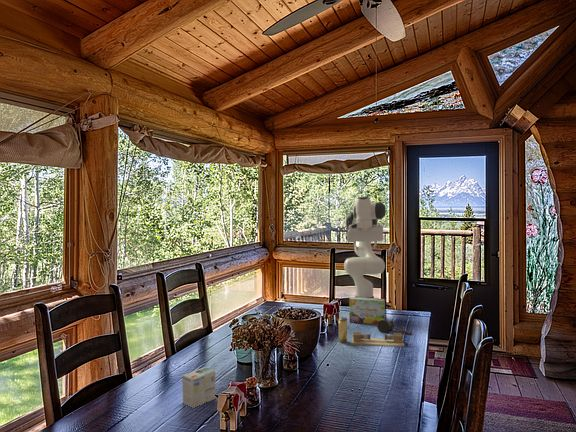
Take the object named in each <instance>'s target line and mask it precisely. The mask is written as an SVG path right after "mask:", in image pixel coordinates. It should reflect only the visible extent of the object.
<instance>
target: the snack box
mask: <svg viewBox="0 0 576 432" xmlns="http://www.w3.org/2000/svg"><path fill="white" fill-rule="evenodd" d="M348 301H349V309H348V310H349V321H348V322H349V323H354V322H357V323H356V324H366V323H367V325H377V324H378V322H379V321H380V320H386V310H385V309H386V299H385V298H375V297H374V298H360V297H355V296H350V297H349V300H348Z"/></svg>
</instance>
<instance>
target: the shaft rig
mask: <svg viewBox="0 0 576 432" xmlns="http://www.w3.org/2000/svg"><path fill="white" fill-rule="evenodd" d="M352 333H353V336H352V338H351V340H352V342H351V343H352V345H353V346H373V347H374V346H377V347H378V346H379V347H405V343H404V341H403V338H404V337H403V334H402V333H401V332H393V334H387V333H384V338H381V337H378V338H377V337H376V338H375V337H371V333H364V334H363V333H362V332H361V331H352Z"/></svg>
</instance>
